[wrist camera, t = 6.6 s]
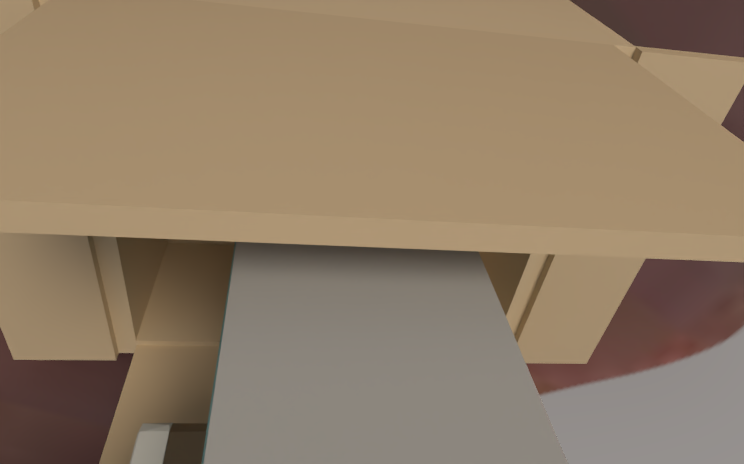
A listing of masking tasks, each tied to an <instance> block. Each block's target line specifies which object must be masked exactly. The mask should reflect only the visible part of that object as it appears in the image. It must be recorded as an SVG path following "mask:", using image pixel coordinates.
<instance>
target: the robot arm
mask: <svg viewBox="0 0 744 464" xmlns="http://www.w3.org/2000/svg"><path fill="white" fill-rule="evenodd" d="M206 430H207V423H143V424H142V426H141V428H140V430H139V432H138V434H137V437H136V441H135V445H134V449H133V453H132V456H131V460H130V464H201V463H202V456H203V449H204V443H205V436H206Z"/></svg>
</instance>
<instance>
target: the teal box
mask: <svg viewBox="0 0 744 464" xmlns="http://www.w3.org/2000/svg"><path fill="white" fill-rule="evenodd" d="M201 464H568V463H567V460H566V457H565V455H564V453H563V450H562V448H561V446H560V443H559V441H558V439H557V436H556V434H555V432H554V429H553V427H552V424H551V422H550V420H549V417H548V415H547V413H546V410H545V408H544V406H543V403H542V401H541V398H540V396H539V394H538V391H537V389H536V387H535V384H534V382H533V379H532V377H531V375H530V372H529V370H528V368H527V365H526V363H525V361H524V358H523V356H522V353H521V351H520V349H519V346H518V344H517V342H516V339H515V337H514V334H513V332H512V330H511V327H510V325H509V323H508V320H507V318H506V316H505V313H504V311H503V308H502V306H501V304H500V301H499V299H498V297H497V294H496V292H495V290H494V287H493V285H492V282H491V280H490V278H489V275H488V273H487V271H486V268H485V266H484V264H483V261H482V259H481V256H480V254H479V252H478V251H454V250H429V249H405V248H380V247H355V246H330V245H305V244H280V243H256V242H235V245H234V251H233V258H232V265H231V271H230V278H229V284H228V291H227V298H226V304H225V311H224V317H223V324H222V331H221V337H220V344H219V350H218V357H217V364H216V370H215V377H214V383H213V390H212V397H211V403H210V410H209V416H208V423H207V430H206V436H205V443H204V449H203V456H202V463H201Z"/></svg>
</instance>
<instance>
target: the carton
mask: <svg viewBox="0 0 744 464" xmlns="http://www.w3.org/2000/svg"><path fill="white" fill-rule="evenodd" d="M743 84H744V58H742V57H733V56H723V55H714V54H705V53H695V52H686V51H676V50H667V49H658V48H648V47H639V46H634V45H632V44H631V43H629V42H628V41H626V40H625V39H624V38H622V37H621V36H619V35H618V34H616V33H615V32H614V31H612V30H611V29H609V28H608V27H607V26H605V25H604V24H602V23H601V22H599V21H598V20H597V19H595V18H594V17H592V16H591V15H589V14H588V13H587V12H585V11H584V10H582V9H581V8H579V7H578V6H577V5H575V4H574V3H572V2H571V1H569V0H0V327H1V329H2V332H3V334H4V337H5V339H6V342H7V344H8V347H9V349H10V351H11V354H12V356H13V359H14V360H117V357H118V354H119V353H134V355H133V358H132V362H131V365H130V368H129V371H128V374H127V377H126V380H125V384H124V387H123V390H122V393H121V396H120V399H119V402H118V405H117V409H116V412H115V415H114V418H113V421H112V424H111V427H110V431H109V434H108V437H107V440H106V443H105V446H104V449H103V453H102V456H101V459H100V462H99V464H130V460H131V456H132V453H133V449H134V445H135V441H136V437H137V434H138V432H139V430H140V428H141V426H142V424H143V423H208V416H209V410H210V403H211V397H212V390H213V383H214V377H215V370H216V364H217V357H218V350H219V344H220V337H221V331H222V324H223V317H224V311H225V304H226V298H227V291H228V284H229V278H230V271H231V265H232V258H233V251H234V245H235V242H256V243H280V244H305V245H330V246H355V247H380V248H405V249H429V250H454V251H478V252H479V254H480V256H481V259H482V261H483V264H484V266H485V268H486V271H487V273H488V275H489V278H490V280H491V282H492V285H493V287H494V290H495V292H496V294H497V297H498V299H499V301H500V304H501V306H502V308H503V311H504V313H505V316H506V318H507V320H508V323H509V325H510V327H511V330H512V332H513V334H514V337H515V339H516V342H517V344H518V346H519V349H520V351H521V353H522V356H523V358H524V361H525V363H573V364H586V363H587V362H588V360H589V358H590V356H591V355H592V353H593V351H594V349H595V347H596V346H597V344H598V342H599V340H600V339H601V337H602V335H603V333H604V331H605V330H606V328H607V326H608V324H609V323H610V321H611V319H612V317H613V315H614V314H615V312H616V310H617V308H618V307H619V305H620V303H621V301H622V299H623V298H624V296H625V294H626V292H627V291H628V289H629V287H630V285H631V283H632V282H633V280H634V278H635V276H636V275H637V273H638V271H639V269H640V267H641V266H642V264H643V262H644V260H645V259H646V258H653V259H678V260H703V261H727V262H744V142H743V141H741V140H740V139H739V138H737V137H736V136H735V135H733V134H732V133H731V132H729V131H728V130H726V129H725V128H724V127H722V126H721V124H722V122H723V120H724V118H725V116H726V115H727V113H728V111H729V109H730V108H731V106H732V104H733V102H734V100H735V99H736V97H737V95H738V93H739V92H740V90H741V88H742V86H743Z"/></svg>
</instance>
